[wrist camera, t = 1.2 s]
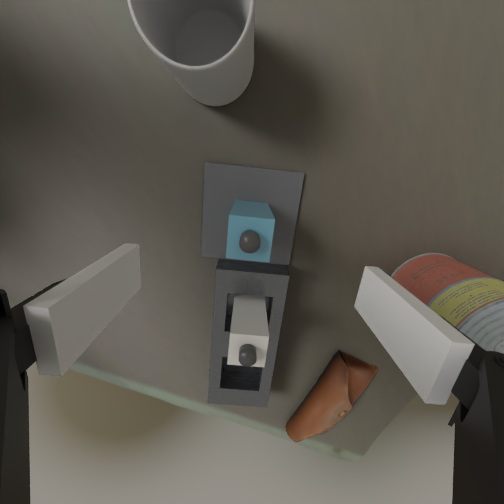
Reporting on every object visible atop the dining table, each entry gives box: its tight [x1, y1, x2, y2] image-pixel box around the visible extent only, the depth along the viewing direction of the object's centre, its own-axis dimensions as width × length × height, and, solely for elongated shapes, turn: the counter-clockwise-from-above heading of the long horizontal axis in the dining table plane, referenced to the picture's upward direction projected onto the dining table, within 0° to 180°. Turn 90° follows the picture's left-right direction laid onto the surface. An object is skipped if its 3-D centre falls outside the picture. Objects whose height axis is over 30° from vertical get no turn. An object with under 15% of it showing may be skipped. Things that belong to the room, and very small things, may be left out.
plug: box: [226, 200, 275, 262], centre depth 26 cm, size 4×4×11 cm
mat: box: [201, 162, 305, 265], centre depth 31 cm, size 12×12×1 cm
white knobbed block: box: [227, 294, 269, 367], centre depth 30 cm, size 4×4×11 cm
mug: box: [127, 0, 255, 106], centre depth 21 cm, size 12×8×11 cm
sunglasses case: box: [286, 350, 378, 442], centre depth 41 cm, size 18×7×7 cm
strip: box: [208, 258, 290, 407], centre depth 35 cm, size 22×9×4 cm, turn 174°
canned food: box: [391, 253, 504, 354], centre depth 30 cm, size 11×11×12 cm
